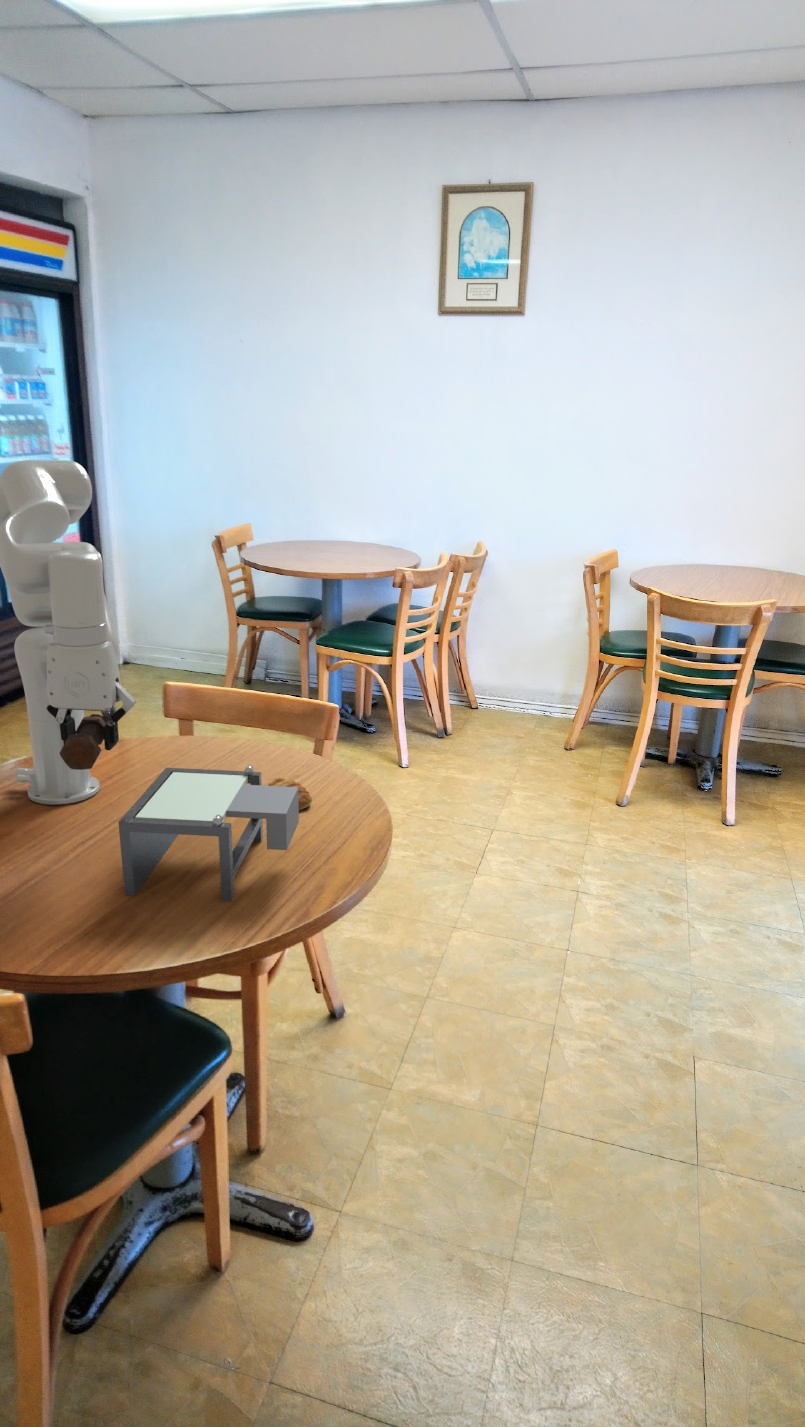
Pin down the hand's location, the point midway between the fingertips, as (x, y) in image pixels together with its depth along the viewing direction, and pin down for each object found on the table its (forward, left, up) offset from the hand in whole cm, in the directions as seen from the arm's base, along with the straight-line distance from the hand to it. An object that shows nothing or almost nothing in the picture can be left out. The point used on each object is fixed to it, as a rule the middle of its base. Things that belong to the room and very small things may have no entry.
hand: (90, 744), depth 136 cm
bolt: (0, -1, -1) cm, 1 cm away
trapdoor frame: (+17, -3, -18) cm, 25 cm away
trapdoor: (+22, -3, -12) cm, 25 cm away
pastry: (+27, +23, -19) cm, 40 cm away
